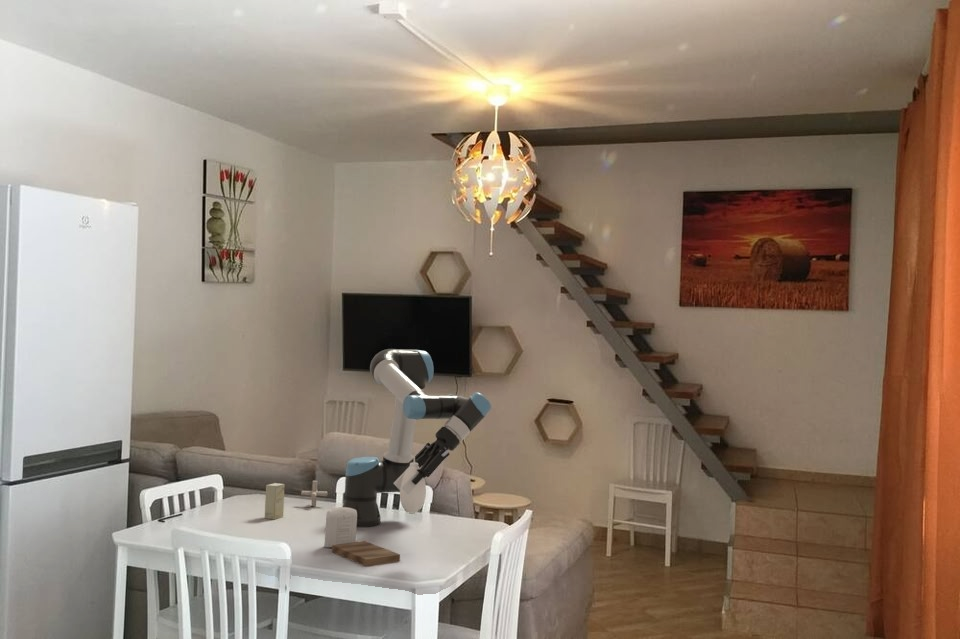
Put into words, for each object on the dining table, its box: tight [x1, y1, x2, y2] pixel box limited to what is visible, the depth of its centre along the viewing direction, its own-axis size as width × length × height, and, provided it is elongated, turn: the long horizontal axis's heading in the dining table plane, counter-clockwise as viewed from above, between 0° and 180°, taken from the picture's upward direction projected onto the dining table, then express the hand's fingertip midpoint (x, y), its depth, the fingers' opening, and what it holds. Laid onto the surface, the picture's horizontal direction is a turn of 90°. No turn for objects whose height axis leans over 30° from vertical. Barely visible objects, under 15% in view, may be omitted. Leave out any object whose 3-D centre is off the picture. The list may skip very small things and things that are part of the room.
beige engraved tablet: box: [324, 506, 357, 549], centre depth 273 cm, size 10×4×12 cm, turn 119°
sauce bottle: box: [399, 454, 427, 515], centre depth 259 cm, size 8×8×18 cm
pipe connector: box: [300, 480, 328, 507], centre depth 335 cm, size 10×10×10 cm
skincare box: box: [264, 482, 286, 520], centre depth 311 cm, size 6×4×12 cm
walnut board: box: [331, 540, 401, 567], centre depth 261 cm, size 20×12×2 cm, turn 40°
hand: (400, 488), depth 257 cm, fingers closed on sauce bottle, 6 cm apart
